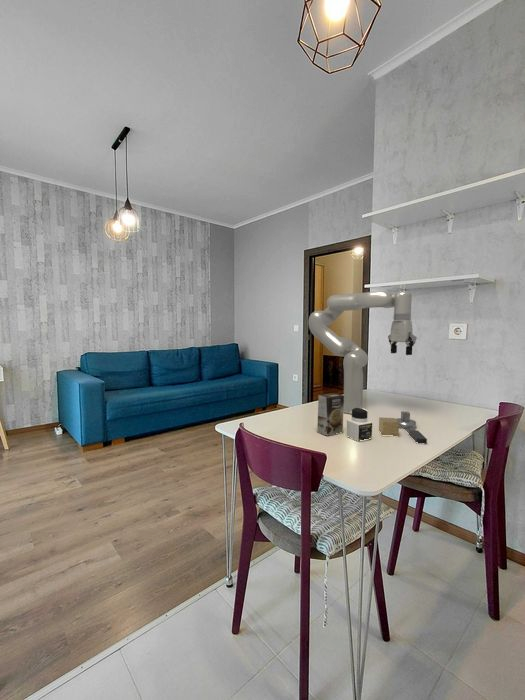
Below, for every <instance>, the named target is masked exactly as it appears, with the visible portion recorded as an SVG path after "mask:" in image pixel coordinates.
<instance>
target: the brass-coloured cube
mask: <svg viewBox="0 0 525 700" xmlns="http://www.w3.org/2000/svg"><path fill="white" fill-rule="evenodd" d="M396 419H397V418H396V417H379V418H378V432H379V431H380V432H381V434H382V435H393V436H398V437H399V433H400V432H399V431H400V430H399V429H400V428H399V422H398V421H397V420H396ZM380 432H379V433H380ZM381 434H380V435H381ZM382 435H381V436H382Z"/></svg>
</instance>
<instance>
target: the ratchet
mask: <svg viewBox="0 0 525 700" xmlns="http://www.w3.org/2000/svg"><path fill="white" fill-rule="evenodd" d="M395 419H396V420H397V421H398V422H399V429H401V428H403V429H402V430H404V429H405V430H406V431H407V432H408V433H409V434H408V433H407V432H406V431H405V430H404V431H405V432H406V433H407V434H408V436H409V435H410V436H411V437H412V438H413V439H414V440H415V441H416V442H418V443H428V442H427V441H428V439H427V438H426V437H425V436H424V435H423V434H422V433H421V432H420V431H419V430H417V429H416V428H417V421H416V420H414V419H412V418H411V413H410V412H409V411H404V410H403V411H400V417H399V418H398V417H397V418H395ZM410 436H409V437H410ZM411 437H410V438H411ZM412 438H411V439H412ZM413 439H412V440H413ZM414 440H413V441H414ZM415 441H414V442H415ZM416 442H415V443H416Z"/></svg>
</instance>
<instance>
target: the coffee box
mask: <svg viewBox="0 0 525 700" xmlns="http://www.w3.org/2000/svg"><path fill="white" fill-rule="evenodd" d="M317 398H318V402H317V403H318V404H317V433H318V432H320V433H322V434H321V435H323V434H324V435H323V436H325V435H327V436H326V437H329V436H328V435H331V436H333V435H332V434H335V435H337V434H336V433H340V432H343V433H344V413H343V409H344V394H339V393H333V392H332V393H325V394H318V397H317ZM320 433H319V434H320ZM340 434H341V433H340Z"/></svg>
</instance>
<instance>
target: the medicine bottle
mask: <svg viewBox="0 0 525 700" xmlns="http://www.w3.org/2000/svg"><path fill="white" fill-rule="evenodd" d="M368 412H369V411H368V410H367V409H366V408H363V407H362V408H354V409H352V414H351V419H346V433H345V434H346V435H347V436H349V437H351V438H353V439H356V440H358V441H360V440H364V439H369V438H372V439H373V436H372V435H373V422H372V421H370V420H369V419H368V416H369V413H368ZM347 436H346V437H347ZM351 438H350V439H351ZM353 439H352V440H353Z"/></svg>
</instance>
